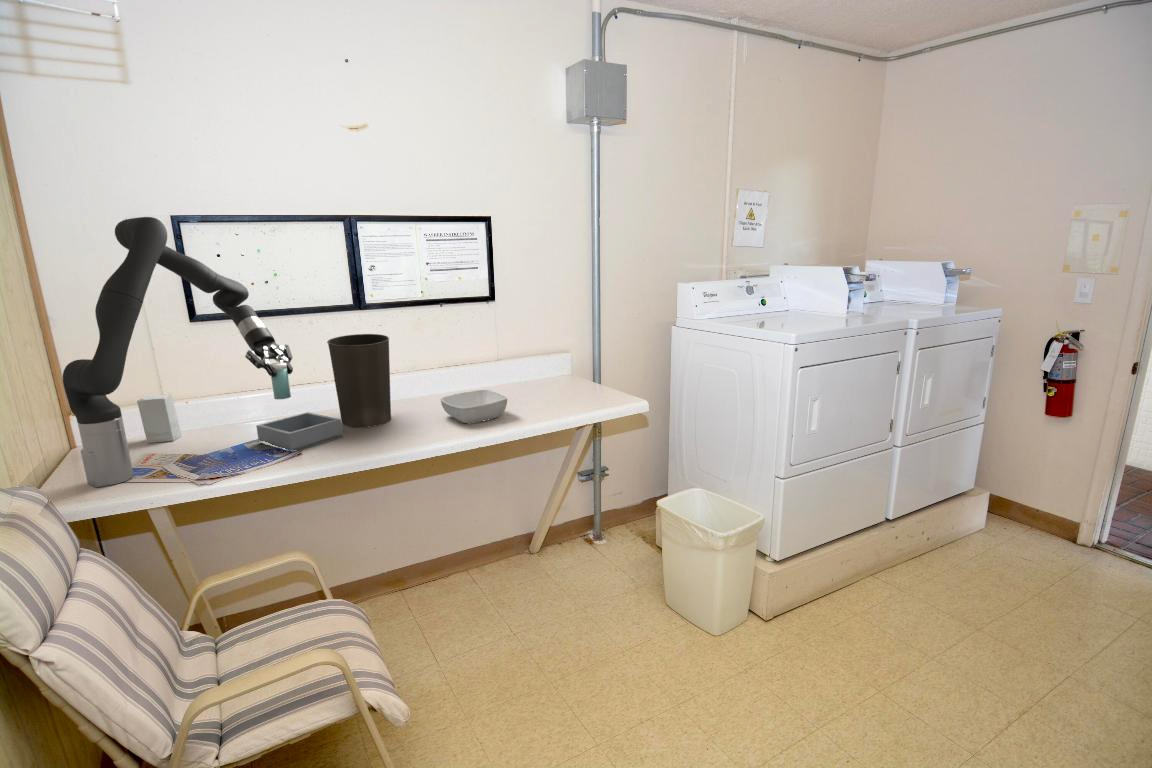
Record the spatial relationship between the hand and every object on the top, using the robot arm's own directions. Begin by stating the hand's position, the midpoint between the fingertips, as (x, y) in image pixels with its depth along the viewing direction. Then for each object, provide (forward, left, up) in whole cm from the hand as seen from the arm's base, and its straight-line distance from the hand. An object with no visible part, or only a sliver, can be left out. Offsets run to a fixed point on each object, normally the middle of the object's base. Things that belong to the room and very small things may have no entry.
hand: (282, 373), depth 183 cm
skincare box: (-21, +39, -23) cm, 50 cm away
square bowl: (+50, -34, -23) cm, 65 cm away
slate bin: (+2, -2, -22) cm, 23 cm away
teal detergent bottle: (0, +2, -8) cm, 8 cm away
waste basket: (+27, -3, -23) cm, 36 cm away
